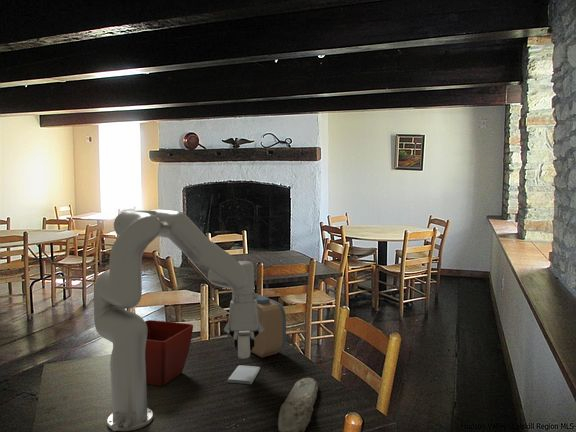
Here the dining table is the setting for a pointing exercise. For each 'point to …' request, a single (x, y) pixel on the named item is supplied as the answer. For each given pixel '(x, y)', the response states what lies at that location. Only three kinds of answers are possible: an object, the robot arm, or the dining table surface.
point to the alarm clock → (270, 327)
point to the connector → (244, 344)
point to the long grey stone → (298, 406)
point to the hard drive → (244, 374)
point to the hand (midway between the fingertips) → (244, 348)
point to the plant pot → (166, 350)
